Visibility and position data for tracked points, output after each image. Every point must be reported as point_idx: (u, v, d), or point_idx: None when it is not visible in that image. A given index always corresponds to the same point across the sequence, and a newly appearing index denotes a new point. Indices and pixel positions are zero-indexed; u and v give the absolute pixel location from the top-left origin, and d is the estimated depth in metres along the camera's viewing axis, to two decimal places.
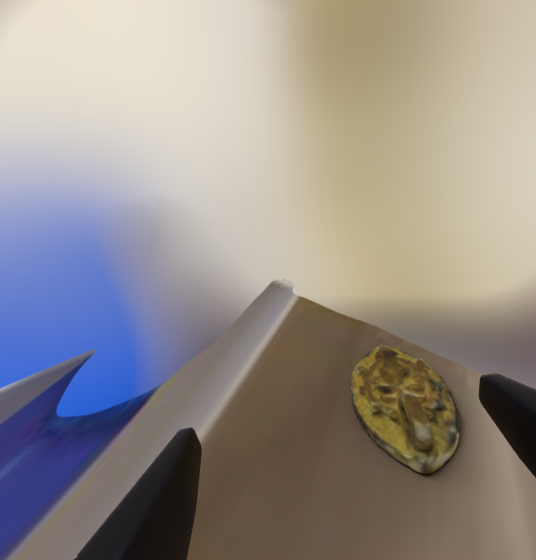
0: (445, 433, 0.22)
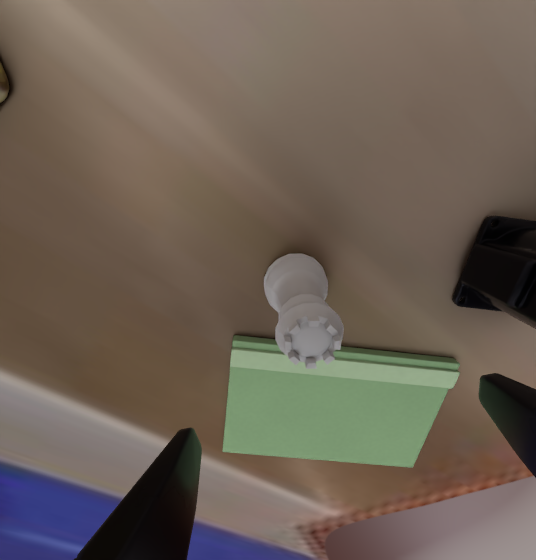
0: None
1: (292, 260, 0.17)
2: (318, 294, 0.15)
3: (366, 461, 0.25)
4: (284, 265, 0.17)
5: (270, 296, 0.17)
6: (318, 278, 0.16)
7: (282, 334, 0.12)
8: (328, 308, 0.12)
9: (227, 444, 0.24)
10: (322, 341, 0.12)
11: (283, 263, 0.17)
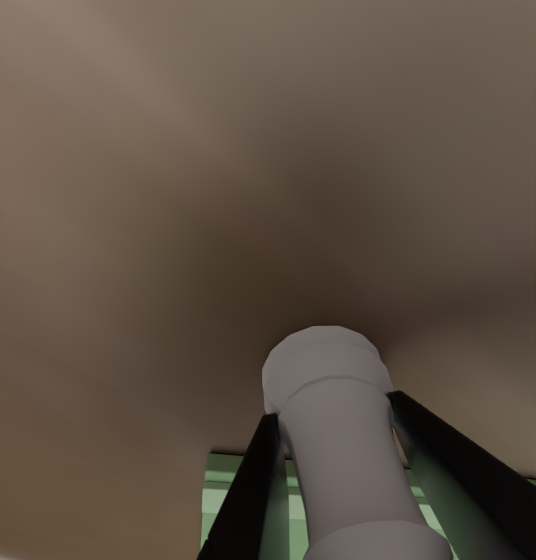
0: None
1: (322, 349, 0.08)
2: (399, 468, 0.06)
3: None
4: (305, 361, 0.08)
5: None
6: (381, 394, 0.07)
7: None
8: None
9: None
10: None
11: (303, 355, 0.08)
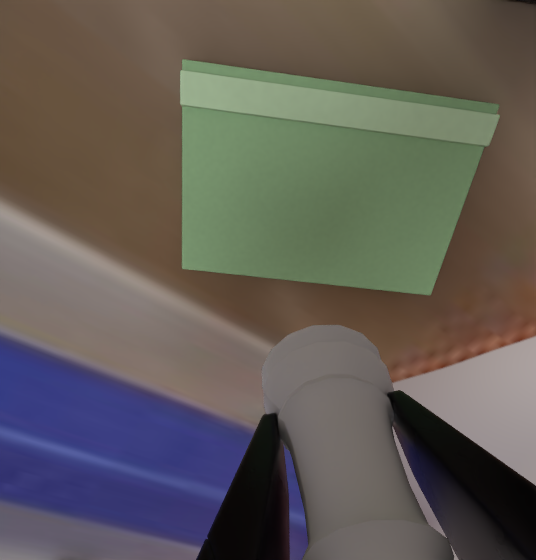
0: None
1: (322, 348, 0.08)
2: (399, 467, 0.06)
3: (370, 284, 0.19)
4: (305, 360, 0.08)
5: None
6: (381, 393, 0.07)
7: None
8: None
9: (187, 255, 0.18)
10: None
11: (303, 354, 0.08)
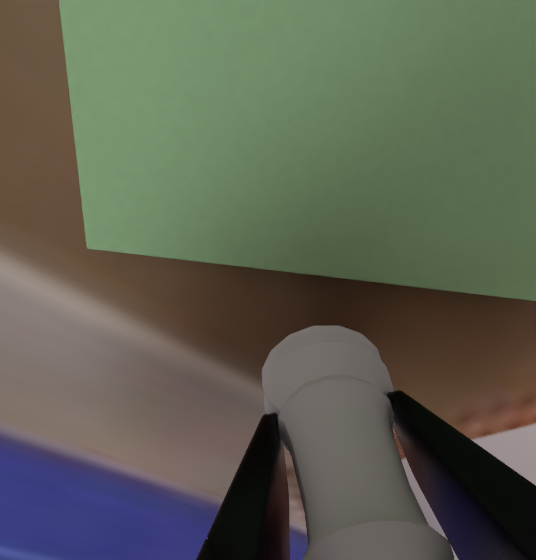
0: None
1: (322, 349, 0.08)
2: (400, 468, 0.06)
3: (446, 281, 0.10)
4: (305, 361, 0.08)
5: None
6: (381, 394, 0.07)
7: None
8: None
9: (94, 221, 0.09)
10: None
11: (303, 355, 0.08)
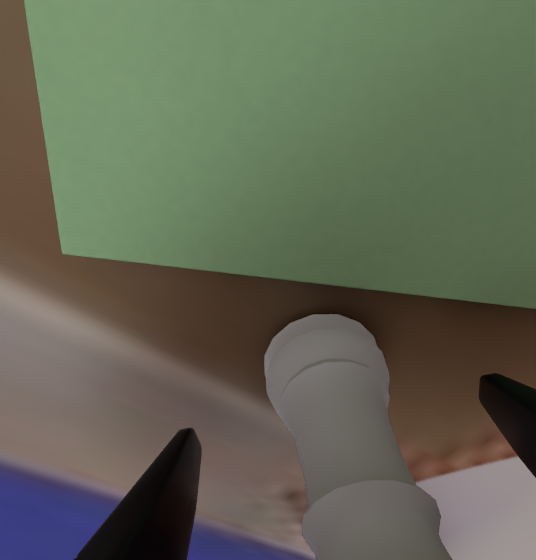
0: None
1: (321, 334, 0.08)
2: (392, 440, 0.06)
3: (475, 291, 0.09)
4: (305, 346, 0.08)
5: (276, 403, 0.09)
6: (377, 376, 0.08)
7: None
8: None
9: (69, 222, 0.08)
10: None
11: (303, 340, 0.08)
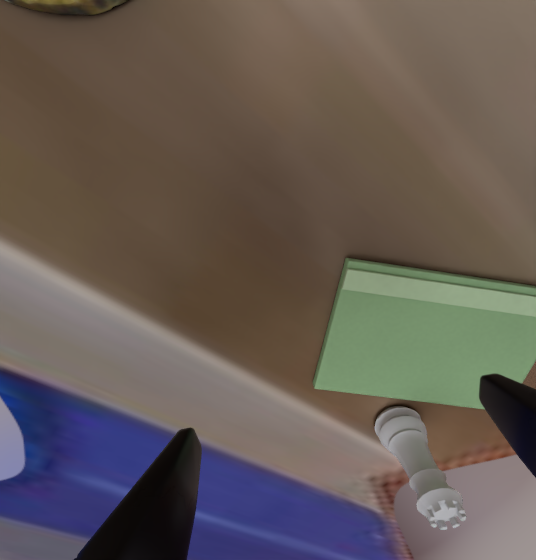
0: None
1: (404, 418, 0.24)
2: (432, 458, 0.21)
3: (459, 403, 0.24)
4: (398, 422, 0.23)
5: (385, 441, 0.24)
6: (424, 435, 0.23)
7: (425, 507, 0.19)
8: (455, 491, 0.19)
9: (320, 380, 0.23)
10: (451, 513, 0.19)
11: (397, 420, 0.24)
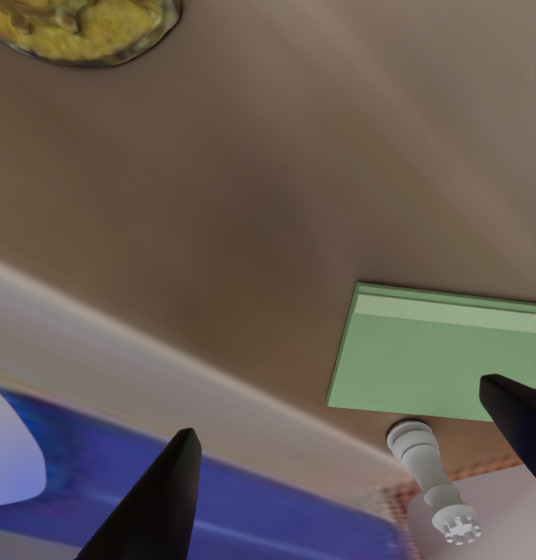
0: None
1: (416, 433, 0.24)
2: (445, 472, 0.22)
3: (469, 416, 0.25)
4: (411, 437, 0.24)
5: (398, 456, 0.25)
6: (436, 449, 0.24)
7: (441, 523, 0.19)
8: (470, 507, 0.19)
9: (334, 398, 0.24)
10: (466, 528, 0.19)
11: (409, 435, 0.24)
